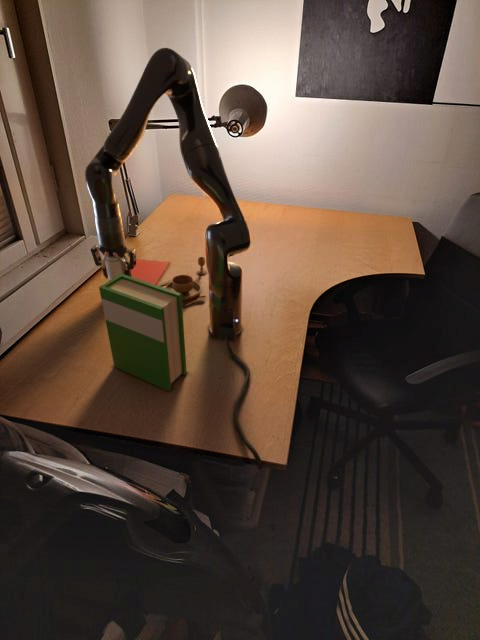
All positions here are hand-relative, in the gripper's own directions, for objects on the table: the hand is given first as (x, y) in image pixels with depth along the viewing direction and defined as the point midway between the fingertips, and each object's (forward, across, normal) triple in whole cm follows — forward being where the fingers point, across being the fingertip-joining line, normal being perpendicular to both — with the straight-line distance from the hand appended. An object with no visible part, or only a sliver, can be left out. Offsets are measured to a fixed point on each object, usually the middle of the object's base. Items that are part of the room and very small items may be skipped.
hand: (118, 278), depth 134 cm
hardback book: (+7, +21, -33) cm, 40 cm away
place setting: (+7, +22, +9) cm, 25 cm away
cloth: (+7, +2, +15) cm, 17 cm away
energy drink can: (+7, 0, 0) cm, 7 cm away
